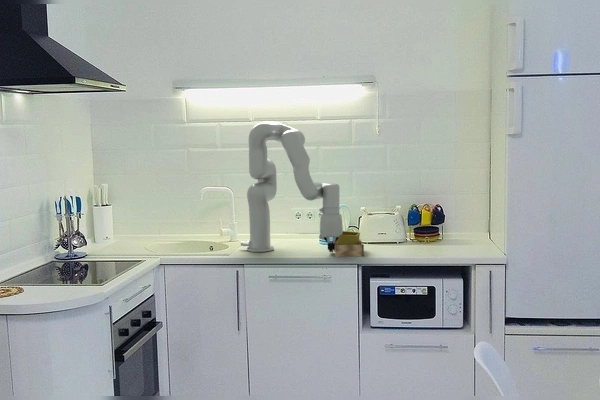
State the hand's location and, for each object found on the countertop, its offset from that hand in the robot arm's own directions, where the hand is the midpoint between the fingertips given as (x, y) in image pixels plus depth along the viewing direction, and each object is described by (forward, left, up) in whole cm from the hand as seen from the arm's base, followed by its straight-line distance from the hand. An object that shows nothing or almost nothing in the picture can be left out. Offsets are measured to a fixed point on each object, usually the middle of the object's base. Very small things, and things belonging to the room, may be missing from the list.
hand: (331, 251), depth 293 cm
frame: (+8, 0, -1) cm, 8 cm away
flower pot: (+8, +1, -1) cm, 8 cm away
